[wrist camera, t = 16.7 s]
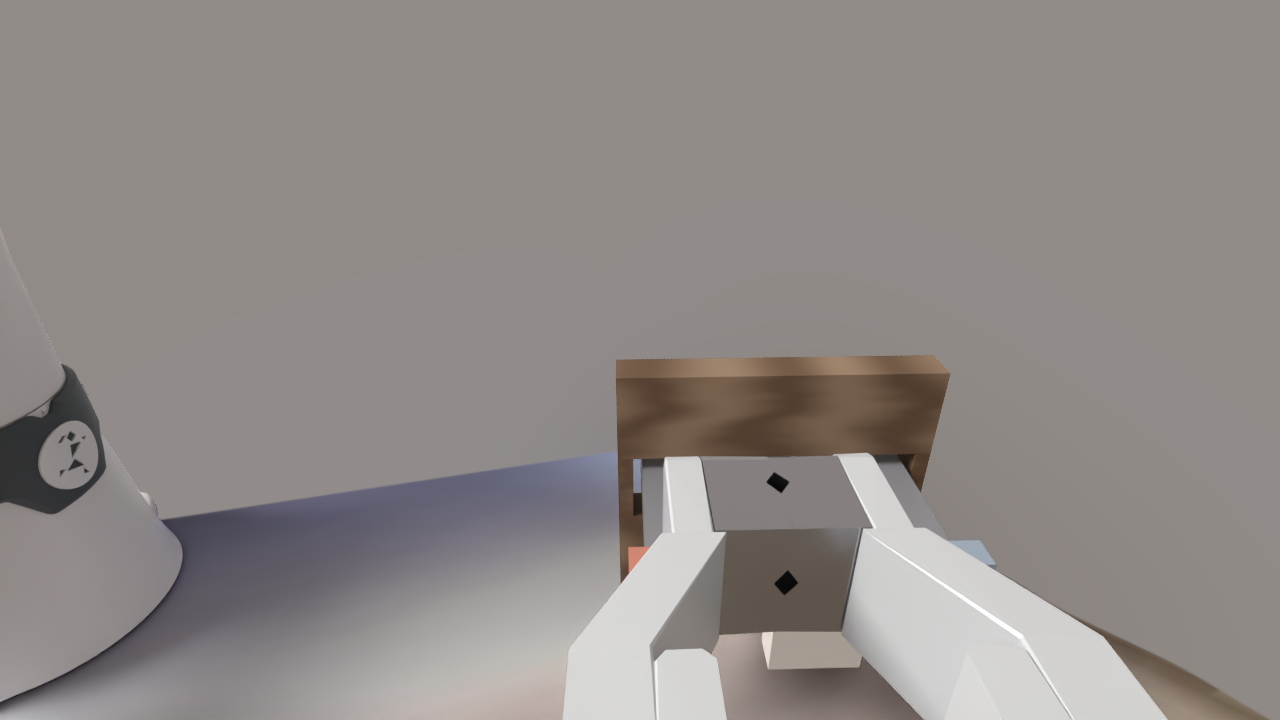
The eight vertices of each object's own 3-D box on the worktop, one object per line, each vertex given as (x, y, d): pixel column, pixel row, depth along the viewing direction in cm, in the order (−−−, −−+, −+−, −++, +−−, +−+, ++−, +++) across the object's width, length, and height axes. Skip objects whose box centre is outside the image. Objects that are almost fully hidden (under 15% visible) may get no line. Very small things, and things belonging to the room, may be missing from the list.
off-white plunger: (768, 669, 28) (776, 604, 27) (727, 486, 40) (731, 430, 38) (859, 667, 29) (874, 602, 27) (793, 484, 40) (800, 429, 38)
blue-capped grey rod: (889, 630, 30) (905, 566, 28) (817, 465, 41) (825, 411, 39) (975, 628, 30) (996, 564, 28) (880, 464, 41) (891, 410, 40)
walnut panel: (621, 603, 40) (616, 378, 33) (621, 579, 42) (616, 359, 35) (894, 597, 41) (950, 373, 33) (882, 573, 43) (933, 355, 35)
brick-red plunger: (629, 636, 30) (628, 572, 28) (627, 468, 41) (626, 414, 39) (716, 634, 30) (721, 570, 28) (691, 467, 41) (693, 413, 39)
